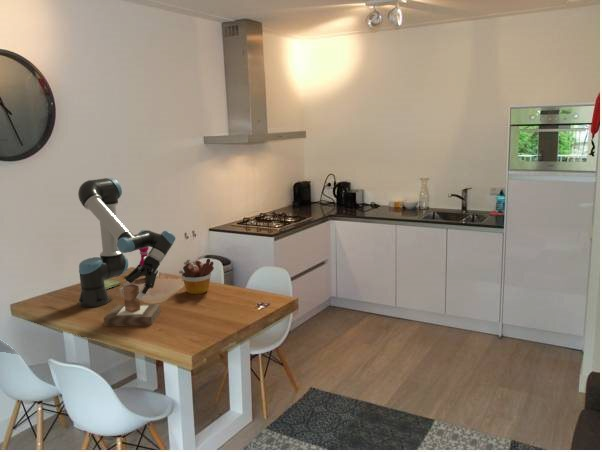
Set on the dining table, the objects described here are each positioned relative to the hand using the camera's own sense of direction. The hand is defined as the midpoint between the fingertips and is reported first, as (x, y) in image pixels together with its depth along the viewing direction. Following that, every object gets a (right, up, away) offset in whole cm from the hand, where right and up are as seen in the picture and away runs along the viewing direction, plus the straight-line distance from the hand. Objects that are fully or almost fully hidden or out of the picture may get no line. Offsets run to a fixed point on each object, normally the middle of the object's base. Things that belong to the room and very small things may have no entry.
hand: (129, 296), depth 253 cm
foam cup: (-9, +2, +73) cm, 73 cm away
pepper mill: (-18, +4, +85) cm, 87 cm away
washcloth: (-34, -2, +58) cm, 67 cm away
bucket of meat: (+25, -3, +43) cm, 50 cm away
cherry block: (+1, -7, +2) cm, 7 cm away
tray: (+1, -11, +3) cm, 12 cm away
